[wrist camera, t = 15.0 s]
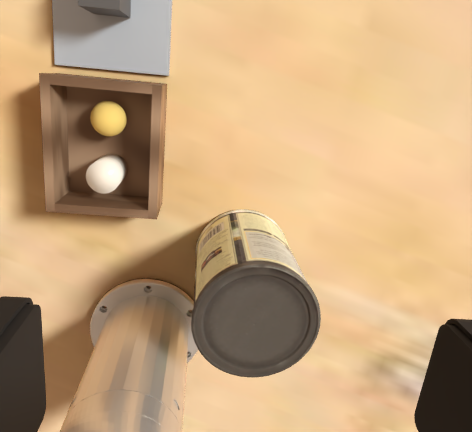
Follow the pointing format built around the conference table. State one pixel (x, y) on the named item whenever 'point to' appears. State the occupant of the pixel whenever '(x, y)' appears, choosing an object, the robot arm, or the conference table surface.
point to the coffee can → (251, 297)
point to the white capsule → (106, 173)
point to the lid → (113, 34)
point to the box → (102, 144)
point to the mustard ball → (108, 118)
